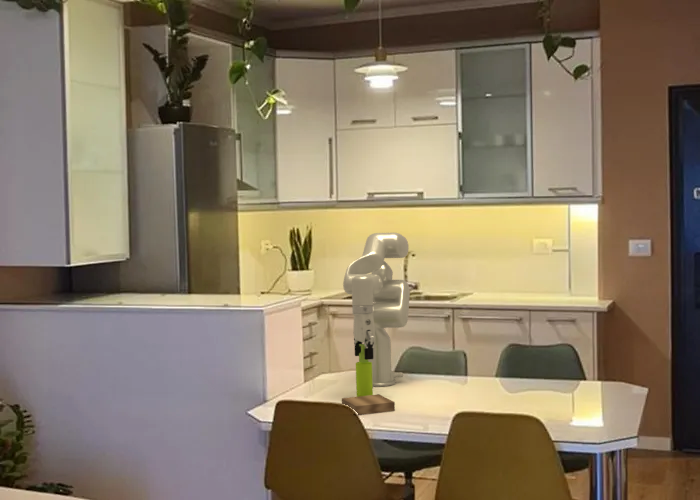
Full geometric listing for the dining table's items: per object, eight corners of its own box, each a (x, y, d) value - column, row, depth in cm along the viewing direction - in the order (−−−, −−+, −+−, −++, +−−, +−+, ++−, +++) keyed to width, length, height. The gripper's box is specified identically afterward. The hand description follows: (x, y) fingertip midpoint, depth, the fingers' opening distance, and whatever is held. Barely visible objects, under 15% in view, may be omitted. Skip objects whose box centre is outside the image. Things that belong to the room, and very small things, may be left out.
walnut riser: (379, 402, 318) (378, 394, 317) (394, 410, 305) (394, 402, 304) (341, 406, 313) (341, 398, 313) (356, 415, 300) (356, 406, 299)
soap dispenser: (362, 401, 320) (361, 346, 319) (353, 398, 326) (352, 343, 325) (377, 399, 323) (375, 344, 322) (368, 396, 329) (366, 342, 328)
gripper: (381, 311, 316) (382, 359, 316) (363, 307, 332) (364, 353, 333) (361, 312, 313) (363, 361, 314) (344, 308, 329) (345, 355, 330)
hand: (364, 357), depth 323 cm, fingers open, 9 cm apart
